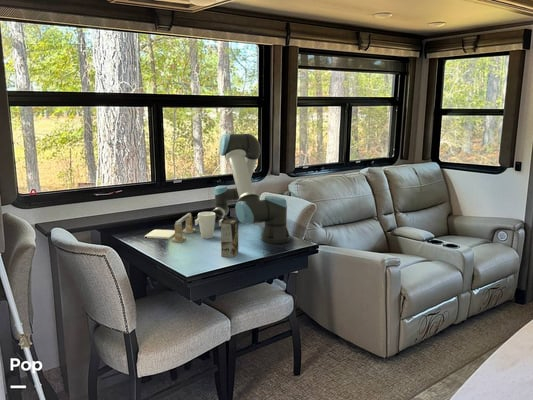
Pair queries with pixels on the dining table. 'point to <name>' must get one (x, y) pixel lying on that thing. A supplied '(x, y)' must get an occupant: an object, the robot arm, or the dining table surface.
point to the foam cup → (206, 224)
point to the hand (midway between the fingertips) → (207, 223)
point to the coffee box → (229, 238)
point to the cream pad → (161, 234)
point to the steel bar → (183, 218)
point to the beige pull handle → (178, 230)
